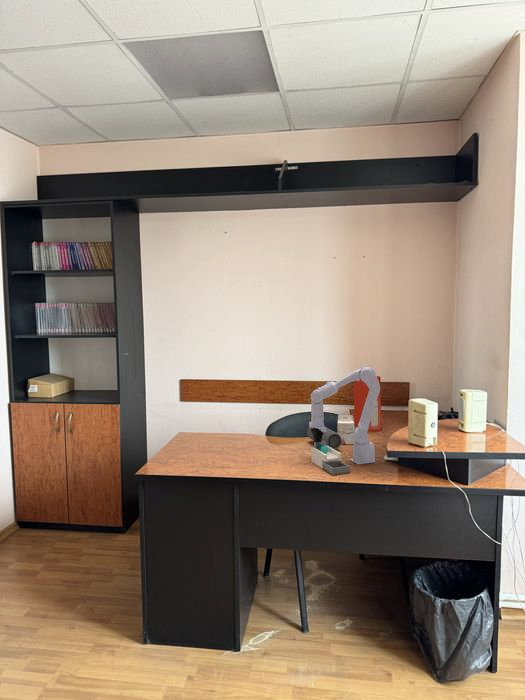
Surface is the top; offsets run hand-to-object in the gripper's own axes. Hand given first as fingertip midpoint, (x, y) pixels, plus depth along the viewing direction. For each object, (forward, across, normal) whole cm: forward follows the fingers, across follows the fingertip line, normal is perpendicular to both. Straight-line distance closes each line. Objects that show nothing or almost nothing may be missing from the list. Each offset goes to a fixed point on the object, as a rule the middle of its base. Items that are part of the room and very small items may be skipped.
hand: (317, 443), depth 227 cm
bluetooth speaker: (+8, -20, +13) cm, 25 cm away
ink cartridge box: (+8, -20, +26) cm, 33 cm away
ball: (+1, +7, 0) cm, 7 cm away
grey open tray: (+8, +18, 0) cm, 20 cm away
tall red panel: (+8, -44, +54) cm, 70 cm away
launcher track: (+8, +8, 0) cm, 11 cm away
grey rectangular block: (+2, +2, 0) cm, 3 cm away
